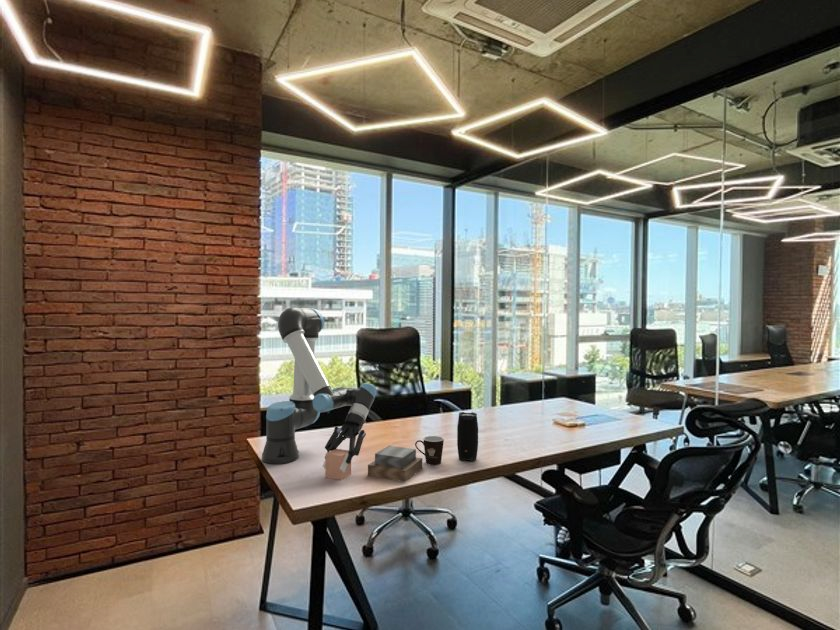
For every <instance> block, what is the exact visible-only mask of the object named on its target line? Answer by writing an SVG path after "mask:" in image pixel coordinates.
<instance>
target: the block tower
mask: <svg viewBox="0 0 840 630" xmlns="http://www.w3.org/2000/svg"><path fill="white" fill-rule="evenodd" d="M420 469H421V470H422V469H423V458H421V457H417V448H410V447H403V446H395V445H388V446H386V447H385V448H383V449H381V450H379V451H378V452H375V453H374V460H373V461H371V462H370V463H368V464H367V476H369V475H370V477H375V478H376V477H377V478H381V479H387V480H393V479H394V481H399V480H400V482H405V481H406V482H407V481H408V480H409V479H411V478H412V477H413V476H414V475H416V474H417V473H419V470H420ZM421 470H420V471H421ZM415 473H416V474H415ZM410 477H411V478H410Z"/></svg>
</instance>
